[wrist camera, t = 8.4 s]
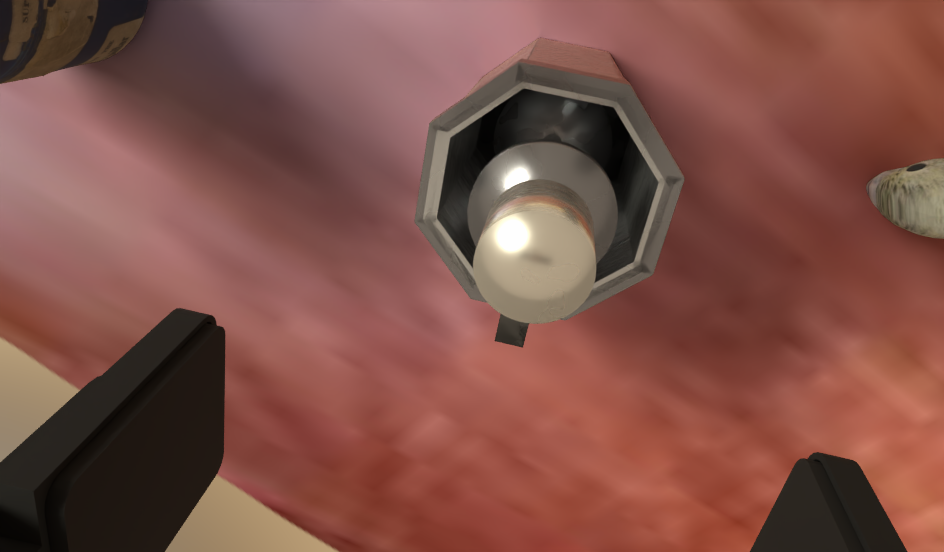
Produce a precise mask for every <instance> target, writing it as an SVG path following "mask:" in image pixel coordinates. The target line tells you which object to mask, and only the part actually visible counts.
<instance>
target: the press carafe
mask: <svg viewBox="0 0 944 552" xmlns="http://www.w3.org/2000/svg"><path fill="white" fill-rule="evenodd" d="M524 88H525V89H530V90H534V91H539V92H544V93H548V94H553V95H558V96H563V97H567V98H572V99H577V100H582V101H586V102H591V103H596V104H601V105H603V107H604V109H605V111H606V113H607V115H608V118H609V121H610V125H611V130H612V150H611V155H610V158H609V161H608V163H607V165H606V167H605V169H604V170H605V172H606V173H607V175H608V177H609V179H610V181H611V183H612V186H613V188H614V191H615V196H616V201H617V209H618V221H617V228H616V232H615V236H614V238H613V241H612V243H611V245H610V247H609V249H608V251H607V252H606V254H605V255H604V256H603V258H602V259H601V260H600V261H599V262H598V263H597V264H596V277H595V282H594V285H593V288H592V290H591V292H590V294H589V296H588V297H587V299H586V300H585V302H584V303H583V304H582V305H581V306H580V307H579V308H578V309H577V310H575V311H574V312H573V313H571V314H569V315H568V316H566V317H564V318H562V319H561V320H567V319H569V318H571V317H573V316H575V315H577V314H579V313H580V312H582V311H584V310H586V309H588V308H590V307H592V306H594V305H596V304H598V303H600V302H602V301H604V300H606V299H607V298H609V297H611V296H613V295H615V294H617V293H619V292H621V291H623V290H625V289H627V288H629V287H631V286H632V285H634V284H636V283H638V282H640V281H642V280H644V279H646V278H648V277H650V276H652V274H653V273H654V270H655V267H656V264H657V261H658V258H659V255H660V252H661V249H662V246H663V243H664V240H665V237H666V234H667V231H668V228H669V225H670V222H671V219H672V216H673V213H674V210H675V207H676V204H677V200H678V197H679V194H680V191H681V188H682V185H683V182H684V176H683V174H682V172H681V170H680V168H679V167H678V165H677V163H676V161H675V160H674V158H673V156H672V155H671V153H670V151H669V149H668V148H667V146H666V144H665V143H664V141H663V139H662V137H661V136H660V134H659V132H658V131H657V129H656V127H655V125H654V124H653V122H652V120H651V119H650V117H649V115H648V114H647V112H646V110H645V108H644V107H643V105H642V103H641V102H640V100H639V98H638V96H637V95H636V93H635V91H634V90H633V88H632V86H631V84H630V83H629V81H628V80H625V78H624V77H623V75H622V73H621V72H620V70H619V68H618V66H617V65H616V63H615V61H614V60H613V58H612V56H611V54H610V53H608V52H607V51H602V50H597V49H593V48H588V47H583V46H578V45H573V44H568V43H564V42H559V41H554V40H549V39H544V38H540V39H539V38H538V39H536V40H535V41H533V42H532V43H531V44H529V45H528V46H526V47H525V48H523V49H522V50H521V51H519V52H518V53H516V54H515V55H513V56H512V57H510V58H509V59H508V60H506V61H505V62H503V63H502V64H500V65H499V66H498V67H496V68H495V69H493V70H492V71H490V72H489V73H487V74H486V75H485V76H483V77H482V78H481V79H480V80H479V81H478V82H477V84H476V85H475V86H474V87H473V88H472V89H471V91H470V92H469V93H468V94H467V95H466V96H465V97H464V98H463V99H461V100H460V101H458V102H457V103H456V104H454V105H453V106H451V107H450V108H448V109H447V110H445V111H444V112H443V113H441V114H440V115H438V116H437V117H435V118H434V119H433V120H432V121H431V123H430V124H429V130H428V136H427V143H426V149H425V156H424V162H423V169H422V175H421V182H420V189H419V195H418V202H417V208H416V215H415V223H416V225H417V226H418V227H419V229H420V230H421V231H422V233H423V234H424V235H425V237H426V238H427V240H428V241H429V242H430V244H431V245H432V246H433V248H434V249H435V251H436V252H437V253H438V255H439V256H440V257H441V259H442V260H443V262H444V263H445V264H446V266H447V267H448V268H449V270H450V271H451V272H452V274H453V275H454V277H455V278H456V279H457V281H458V282H459V283H460V285H461V286H462V288H463V289H464V290H465V292H466V293H467V294H468V296H469V297H470V298H471V299H473V300H478V301H482V302H487V301H486V300H485V299H484V298H483V296H482V294H481V293H480V291H479V289H478V287H477V285H476V281H475V278H474V272H473V261H474V254H475V251H476V246H475V244H474V242H473V239H472V237H471V234H470V230H469V225H468V214H467V210H468V202H469V198H470V194H471V191H472V189H473V186H474V184H475V182H476V180H477V178H478V176H479V174H480V173H481V171H482V170H483V168H484V167H485V166H486V164H487V163H488V162H489V161H490V160H491V159H492V158H493V157H494V156H495V152H494V132H495V128H496V124H497V121H498V119H499V116H500V114H501V112H502V111H503V109H504V107H505V106H506V104H507V103H508V102H509V100H510V99H511V98H512V97H513V96H514V95H515V94H517V93H518V92H519V91H520V90H522V89H524ZM487 303H488V302H487ZM528 325H529V323H524V322H519V321H516V320H513V319H510V318H508V317H506V316H504V315H502V314H501V315H500V319H499V324H498V328H497V333H496V337H495V341H497V342H502V343H506V344H510V345H515V346H519V347H523V345H524V341H525V337H526V333H527V329H528Z"/></svg>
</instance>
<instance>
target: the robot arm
mask: <svg viewBox="0 0 944 552" xmlns="http://www.w3.org/2000/svg"><path fill="white" fill-rule="evenodd" d="M224 397H225V330H224V328H223V327H220V326H217V325H216V320H215V318H214V317H213V316H212V315H208V314H203V313H199V312H195V311H190V310H186V309H181V308H178V309H175V310H174V311H172V312H171V313H170V314H169V315H168V316H167V317H165V318H164V319H163V320H162V321H161V322H160V323H159V324H158V325H157V326H156V327H154V328H153V329H152V330H151V331H150V332H149V333H148V334H147V335H146V336H145V337H144V338H142V339H141V340H140V341H139V342H138V343H137V344H136V345H135V346H134V347H133V348H131V349H130V350H129V351H128V352H127V353H126V354H125V355H124V356H123V357H122V358H120V359H119V360H118V361H117V362H116V363H115V364H114V365H113V366H112V367H111V368H109V369H108V370H107V371H106V372H105V373H104V374H103V375H102V376H99V377H96V378H95V379H94V380H92V381H91V382H89V383H88V384H87V385H86V386H85V387H84V388H83V389H81V390H80V391H79V392H78V393H77V394H76V395H75V396H74V397H73V398H71V399H70V400H69V401H68V402H67V403H66V404H65V405H64V406H63V407H61V408H60V409H59V410H58V411H57V412H56V413H55V414H54V415H53V416H51V418H49V419H48V420H47V421H46V422H45V423H44V424H43V425H41V426H40V428H38V429H37V430H36V431H35V432H34V433H33V434H31V435H30V436H29V437H28V438H27V439H26V440H25V441H24V442H23V443H22V444H20V445H19V446H18V447H17V448H16V449H15V450H14V451H13V452H12V453H10V454H9V455H8V456H7V457H6V458H5V459H4V460H3V461H2V462H0V552H165V550H166V549H167V547H168V546H169V544H170V543H171V541H172V540H173V539H174V537H175V536H176V534H177V533H178V531H179V530H180V528H181V526H182V525H183V524H184V522H185V521H186V519H187V518H188V516H189V515H190V513H191V512H192V510H193V509H194V507H195V506H196V504H197V503H198V501H199V500H200V498H201V497H202V495H203V494H204V493H205V491H206V490H207V488H208V487H209V485H210V484H211V482H212V480H213V479H214V478H215V476H216V474H217V473H218V471H219V468H220V466H221V463H222V459H223V454H224ZM750 552H907V550H906V548H905V547H904V545H903V543H902V541H901V539H900V538H899V536H898V534H897V532H896V530H895V529H894V527H893V525H892V523H891V521H890V520H889V518H888V516H887V514H886V512H885V511H884V509H883V507H882V505H881V503H880V502H879V500H878V498H877V496H876V494H875V493H874V491H873V489H872V487H871V485H870V484H869V482H868V480H867V478H866V476H865V475H864V473H863V471H862V469H861V467H860V466H859V465H858V463H857V462H855V461H853V460H850V459H845V458H841V457H837V456H832V455H828V454H823V453H819V452H817V453H813V454H812V455H810V456H809V458H808V459H800V460H798V461H797V462H796V464H795V465H794V467H793V469H792V471H791V473H790V475H789V477H788V479H787V481H786V483H785V485H784V487H783V489H782V491H781V492H780V494H779V496H778V498H777V500H776V502H775V504H774V506H773V508H772V510H771V512H770V514H769V516H768V518H767V520H766V521H765V523H764V525H763V527H762V529H761V531H760V533H759V535H758V537H757V539H756V541H755V543H754V545H753V547H752V549H751V551H750Z"/></svg>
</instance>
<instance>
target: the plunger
mask: <svg viewBox="0 0 944 552" xmlns="http://www.w3.org/2000/svg"><path fill="white" fill-rule="evenodd" d="M611 150H612V130H611V125H610V121H609V118H608V115H607V113H606V111H605V109H604V107H603V105H601V104H596V103H591V102H586V101H582V100H577V99H572V98H567V97H563V96H558V95H553V94H548V93H544V92H539V91H534V90H530V89H525V88H524V89H522V90H520V91H519V92H518V93H517V94H515V95H514V96H513V97H512V98H511V99H510V100H509V102H508V103H507V104H506V106H505V107H504V109H503V111H502V112H501V114H500V116H499V119H498V121H497V124H496V128H495V132H494V152H495V156H494V157H493V158H492V159H491V160H490V161H489V162H488V163H487V164H486V166H485V167H484V168H483V170H482V171H481V173H480V174H479V176H478V178H477V180H476V182H475V184H474V186H473V189H472V191H471V194H470V198H469V202H468V210H467V214H468V225H469V230H470V234H471V237H472V239H473V242H474V244H475V246H476V251H475V254H474V261H473V272H474V278H475V281H476V285H477V287H478V289H479V291H480V293H481V294H482V296H483V298H484V299H485V300H486V301H487V302H488V304H489V305H490V306H492V307H493V308H494V309H495V310H496V311H498V312H499V313H501V314H502V315H504V316H506V317H508V318H510V319H513V320H516V321H519V322H524V323H532V324H540V323H548V322H553V321H556V320H559V319H562V318H564V317H566V316H568V315H569V314H571V313H573V312H574V311H575V310H577V309H578V308H579V307H580V306H581V305H582V304H583V303H584V302H585V300H586V299H587V297H588V296H589V294H590V292H591V290H592V288H593V285H594V282H595V277H596V264H597V263H598V262H599V261H600V260H601V259H602V258H603V256H604V255H605V254H606V252H607V251H608V249H609V247H610V245H611V243H612V241H613V238H614V236H615V232H616V228H617V221H618V209H617V201H616V196H615V191H614V188H613V186H612V183H611V181H610V179H609V177H608V175H607V173H606V172H605V170H604V169H605V167H606V165H607V163H608V161H609V158H610V155H611Z"/></svg>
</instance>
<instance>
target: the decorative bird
mask: <svg viewBox="0 0 944 552" xmlns="http://www.w3.org/2000/svg"><path fill="white" fill-rule="evenodd" d="M866 190H867V194H868V196H869V197H870V199H871V201H872V203H873V204H874V206H875V207H876V208H877V209H878V210H879V211H880V213H881V214H882V215H883V216H884V217H885V218H887V219H888V220H889V221H890V222H892V223H893V224H894V225H897V226H899V227H901V228H903V229H905V230H908V231H910V232H913V233H915V234H918V235H922V236H927V237H931V238H941V239H944V158H939V159H931V160H925V161H922V162H919V163H916V164H913V165H910V166H907V167H904V168H898V169H894V170H889V171H885V172H883V173H881V174H879V175H877V176H876V177H874V178H873V179H871V180H870V181H869V182H868V183H867V186H866Z"/></svg>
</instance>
